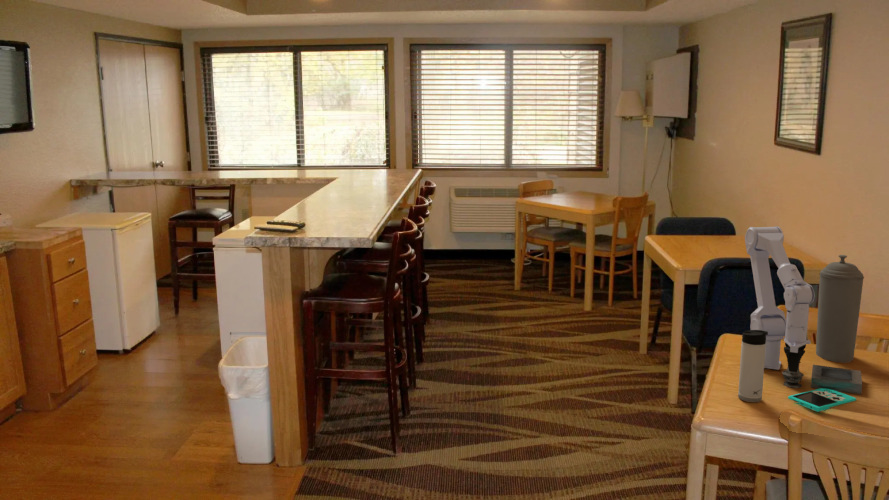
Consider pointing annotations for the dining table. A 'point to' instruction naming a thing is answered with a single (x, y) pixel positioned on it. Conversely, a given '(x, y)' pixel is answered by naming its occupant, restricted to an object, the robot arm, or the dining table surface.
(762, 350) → the travel mug
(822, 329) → the canister
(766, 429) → the dining table surface
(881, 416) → the dining table surface
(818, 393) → the handheld game console
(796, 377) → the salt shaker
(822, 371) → the square socket
